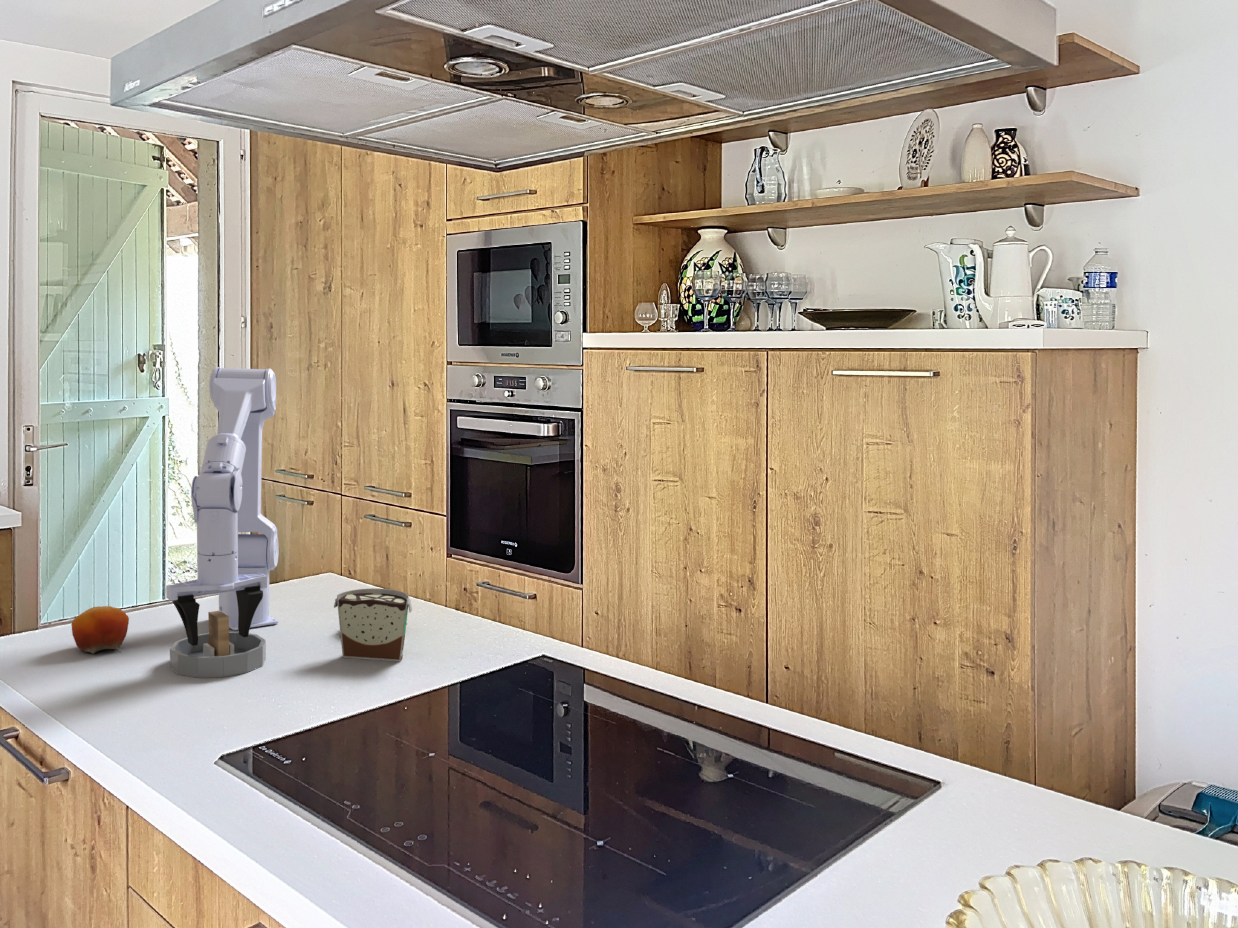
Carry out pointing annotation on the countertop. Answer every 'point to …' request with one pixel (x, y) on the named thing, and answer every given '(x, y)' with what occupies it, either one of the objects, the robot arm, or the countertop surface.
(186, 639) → the grey faceted hollow container
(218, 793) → the countertop surface
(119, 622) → the fruit
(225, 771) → the countertop surface
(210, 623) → the tan wooden beam
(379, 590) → the food container
